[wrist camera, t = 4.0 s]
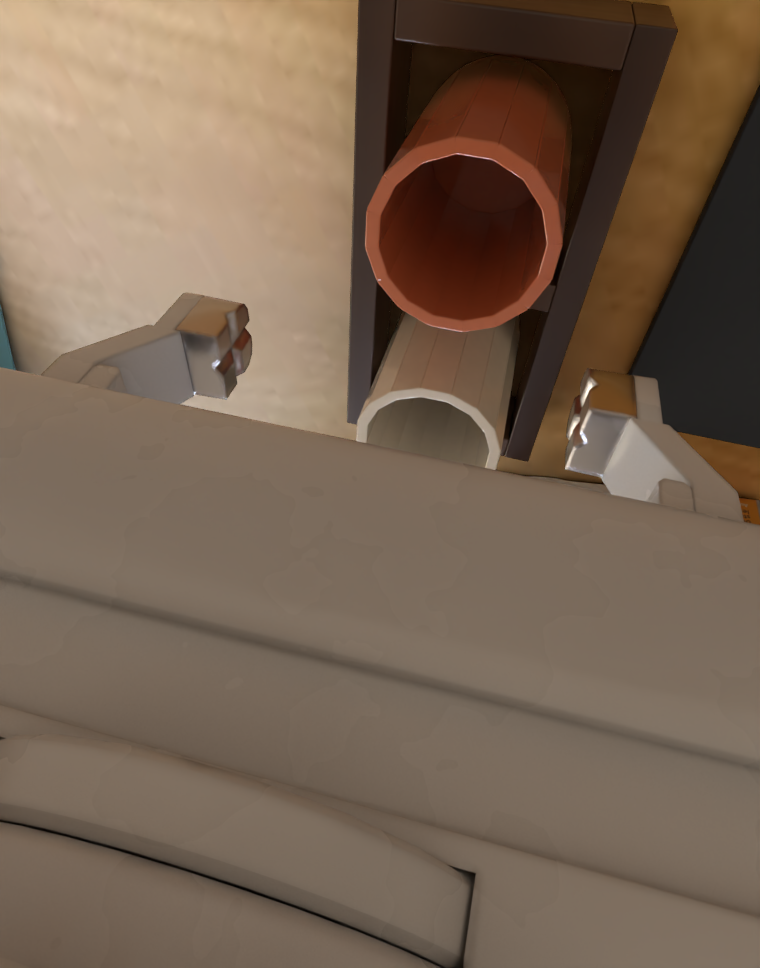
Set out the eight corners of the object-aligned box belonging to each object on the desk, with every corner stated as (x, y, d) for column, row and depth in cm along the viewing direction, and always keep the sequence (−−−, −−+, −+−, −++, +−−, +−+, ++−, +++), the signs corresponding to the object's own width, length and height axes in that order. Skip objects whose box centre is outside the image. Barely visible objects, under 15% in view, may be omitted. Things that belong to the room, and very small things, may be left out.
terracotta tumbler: (592, 66, 21) (589, 156, 15) (548, 227, 26) (532, 346, 20) (432, 44, 22) (369, 122, 16) (415, 204, 26) (361, 313, 20)
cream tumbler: (533, 283, 28) (514, 407, 22) (505, 383, 32) (484, 509, 26) (409, 261, 28) (358, 375, 22) (399, 362, 33) (354, 480, 27)
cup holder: (669, 6, 20) (678, 28, 17) (532, 418, 33) (527, 462, 31) (384, -30, 21) (358, -12, 19) (363, 383, 34) (346, 422, 32)
